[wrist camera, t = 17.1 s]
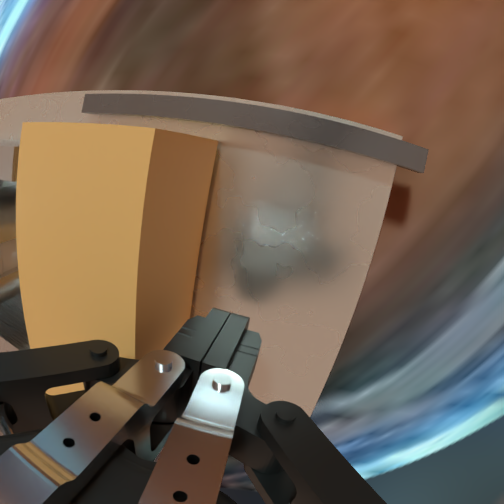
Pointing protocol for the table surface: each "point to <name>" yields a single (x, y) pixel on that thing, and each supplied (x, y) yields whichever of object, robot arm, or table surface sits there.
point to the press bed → (256, 217)
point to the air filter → (8, 245)
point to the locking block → (109, 233)
